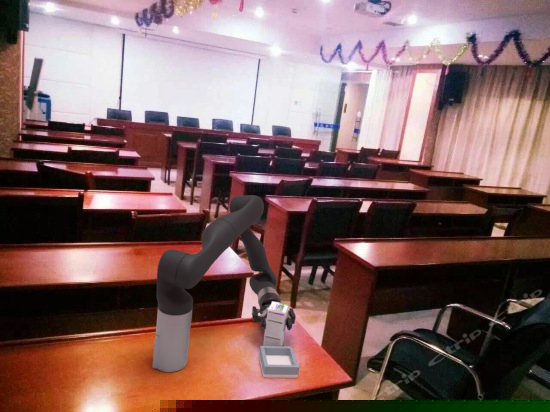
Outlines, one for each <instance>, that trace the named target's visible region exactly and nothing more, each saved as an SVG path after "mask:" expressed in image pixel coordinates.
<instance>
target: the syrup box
mask: <svg viewBox="0 0 550 412" xmlns="http://www.w3.org/2000/svg"><path fill="white" fill-rule="evenodd" d="M288 310H289V304H285V303H283V302H281V303H279V302H273V301H272V303H271V304H270V306H269V308H268V312H267V319H266V329H264V333H263V334H264V336H263V342H262V346H284V342H285V341H284V340H285V335H286V334H285V333H286V329H287V326H286V321H287V314H288Z"/></svg>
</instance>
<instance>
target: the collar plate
mask: <svg viewBox="0 0 550 412" xmlns="http://www.w3.org/2000/svg"><path fill="white" fill-rule="evenodd" d="M258 352H259V353H258V359H259V364H260V367H261V373H262V377H263V378H272V379H273V378H277V379H278V378H279V379H280V378H282V379H283V378H284V379H298V377H299V372H300V371H299V370H300V366H299V363H298V359H297V356H296V354H295V351H294V348H293V346H284V345H283V346H263V345H259V351H258Z"/></svg>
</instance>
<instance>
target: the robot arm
mask: <svg viewBox="0 0 550 412" xmlns="http://www.w3.org/2000/svg"><path fill="white" fill-rule="evenodd" d="M264 208H265V204H264V201H263V199H262V198H261V197H260V196H258V195H253V194H249V195H245V194H244V195H235V196H232V198H231V200H230V202H229V213H227V214H224V215H222V216H219V217H217V218H216V219H214V220H213V221H212V222H210V223H209V224H208V225H207V226H206V227H205V228H204V230H202V233H201V238H200V240H201V241H200V243H201V249H200V251H199V252H197V253H195V254H194V253H189V252H186V251H183V250H178V249H175V248H169V249H166V250H165V251H164V252H163V253H162V255H161V256H160V258H159V261H158V265H157V270H156V271H157V272H156V273H157V274H156V300H157V316H156V327H155V333H154V334H155V336H154V343H153V355H152V366H151V367H152V369H156V370H159V371H160V372H165V373H166V372H167V373H175V372H178V371H180V370H182V369H184V368H185V367H186V366H187V364H188V358H189V357H188V356H189V347H190V345H189V344H190V335H191V328H192V327H191V325H192V316H193V307H194V299H193V296H192V295H191V294H190V293H189V292H188V291H187V290H190V289H193V288H194V287H195V286H197V285H198V283H200V281H201V280H202V279H203V277H204V276H205V274H206V273H208V271H209V269H210V268H211V267H212V265H213V264H214V263H215V262H216V261H217V260H218V259H219V258H220V257H221V256H222V254H223V253H224V252H225V251H227V249H228V248H229V247H230V246H231V245H233V243H234V242H236V240H237V239H238V238H239V237H240V239H241V242H242V243H243V246H244V249H245V252H246V256H247V259H248V264H249V267H250V270H251V271H253V272H255V273H254V274H252V275H251V276H250V278H249V281H248V282H249V287H250V289H251V291H252V292H253V293H254V294H255V295H256V296H257V303H258V306H259V308H258V307H257V306H256V305H255V306H252V308H251V309H252V310H251V318H252V321H253V323H259V324H260V328H262V330H265V329H266V319H267V312H268V308H269V306H270V304H271V303H272V301H273V302H279V303H282V301H281V298H280V295H279V293H278V292H277V290H276V287H277V283H278V279H277V276H276V274H275V272H274V271H273V270H272V267H271V266H270V264H269V261H268V257H267V253H266V248H265V246H264V245H263V242H262V241H261V239H259V238H258V237H257V236H256V234H255V233H254V232H253V231H252V229H251V228H250V227H251V226H253V225H254V224H255V223H257V222H258V221H259V220H260V219H261V217H263V216H262V215H263V213H264ZM256 272H257V273H256ZM259 314H260V315H259ZM296 318H297V317H296V314H295V311H294V309H293V308H292V307H290V308H288V314H287V321H286V329H287V331H291V329H293V325H295V323H296Z"/></svg>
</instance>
